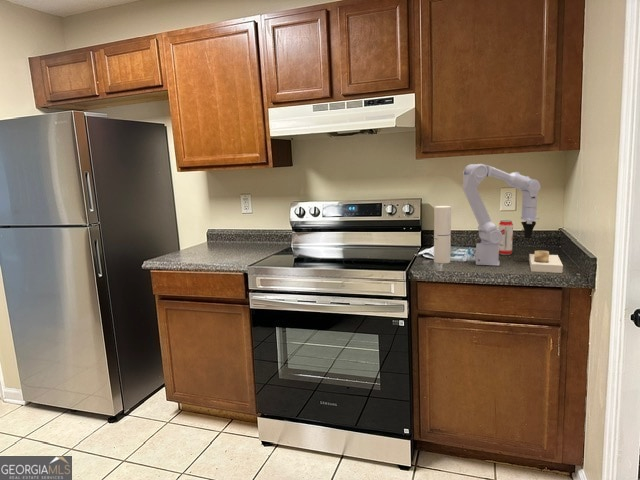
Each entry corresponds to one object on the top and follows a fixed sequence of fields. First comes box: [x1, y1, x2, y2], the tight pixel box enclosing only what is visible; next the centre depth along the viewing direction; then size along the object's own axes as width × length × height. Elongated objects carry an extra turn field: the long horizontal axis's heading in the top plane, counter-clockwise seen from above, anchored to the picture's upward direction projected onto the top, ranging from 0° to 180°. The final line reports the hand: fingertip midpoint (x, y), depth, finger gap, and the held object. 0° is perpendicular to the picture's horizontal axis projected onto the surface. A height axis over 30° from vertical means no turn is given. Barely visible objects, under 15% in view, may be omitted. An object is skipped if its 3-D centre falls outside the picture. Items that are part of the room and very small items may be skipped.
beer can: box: [498, 219, 514, 256], centre depth 205 cm, size 6×6×16 cm
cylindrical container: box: [433, 205, 452, 264], centre depth 193 cm, size 7×7×25 cm
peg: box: [534, 250, 550, 263], centre depth 177 cm, size 5×5×7 cm
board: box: [528, 253, 564, 274], centre depth 180 cm, size 11×20×3 cm, turn 157°
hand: (527, 238), depth 188 cm, fingers closed
